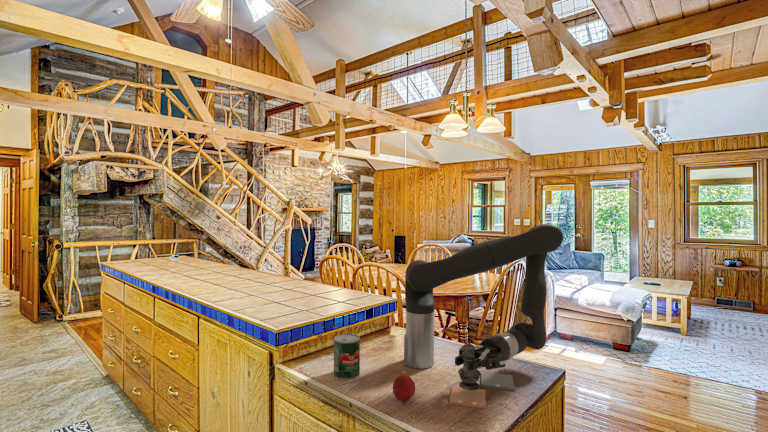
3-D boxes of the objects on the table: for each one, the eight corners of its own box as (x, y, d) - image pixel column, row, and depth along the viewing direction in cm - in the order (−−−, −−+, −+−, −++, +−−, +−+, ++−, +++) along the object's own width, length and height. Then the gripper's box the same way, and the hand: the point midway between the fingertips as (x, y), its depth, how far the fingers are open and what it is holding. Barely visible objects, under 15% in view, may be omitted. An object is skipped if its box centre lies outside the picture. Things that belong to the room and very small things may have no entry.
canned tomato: (345, 366, 121) (345, 332, 121) (365, 372, 116) (365, 337, 116) (328, 375, 115) (328, 338, 114) (348, 382, 110) (348, 344, 110)
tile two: (449, 403, 99) (449, 401, 99) (452, 387, 107) (452, 385, 107) (485, 408, 96) (485, 406, 96) (485, 392, 105) (485, 389, 105)
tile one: (481, 386, 108) (481, 384, 108) (481, 373, 117) (481, 371, 117) (514, 390, 106) (514, 388, 106) (512, 377, 115) (512, 375, 115)
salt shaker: (472, 393, 98) (472, 346, 97) (453, 385, 102) (453, 340, 102) (485, 385, 102) (485, 340, 101) (466, 378, 106) (466, 335, 106)
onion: (408, 410, 95) (408, 378, 95) (388, 404, 98) (388, 373, 98) (418, 400, 100) (419, 370, 100) (399, 394, 103) (399, 365, 103)
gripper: (478, 329, 116) (441, 342, 105) (522, 341, 106) (485, 358, 94) (478, 353, 116) (441, 369, 105) (522, 368, 106) (485, 388, 94)
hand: (462, 364), depth 100 cm, fingers closed on salt shaker, 3 cm apart
